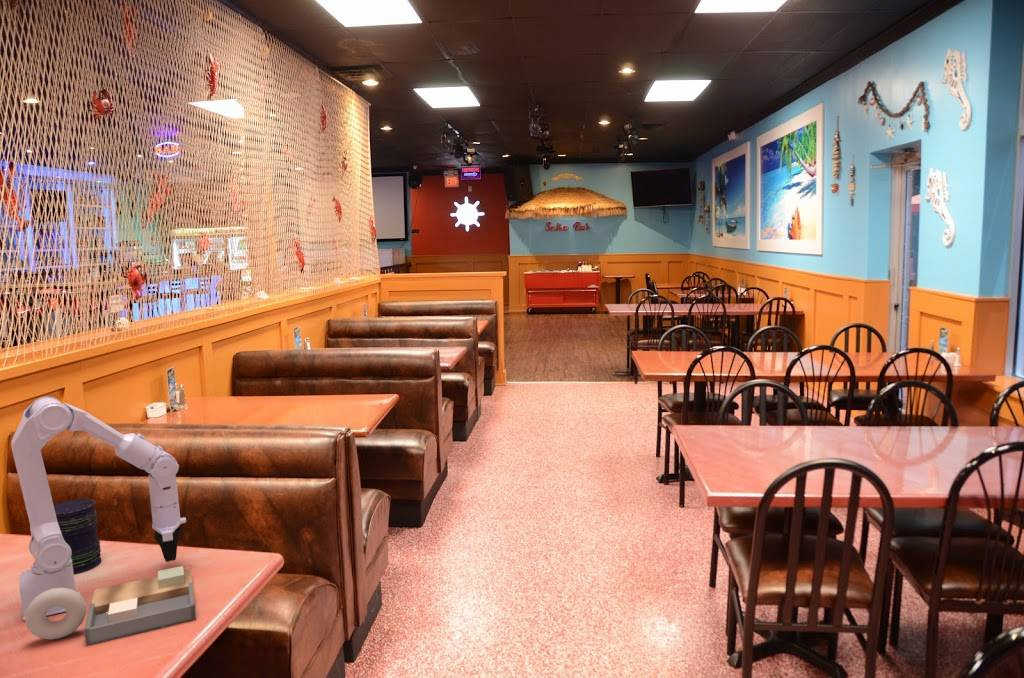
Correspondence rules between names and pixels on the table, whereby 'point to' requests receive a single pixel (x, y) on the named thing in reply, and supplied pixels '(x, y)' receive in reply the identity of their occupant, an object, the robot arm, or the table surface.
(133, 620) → the box
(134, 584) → the oak board
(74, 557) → the storage jar
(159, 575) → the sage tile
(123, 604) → the cream tile
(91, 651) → the table surface
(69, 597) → the donut
